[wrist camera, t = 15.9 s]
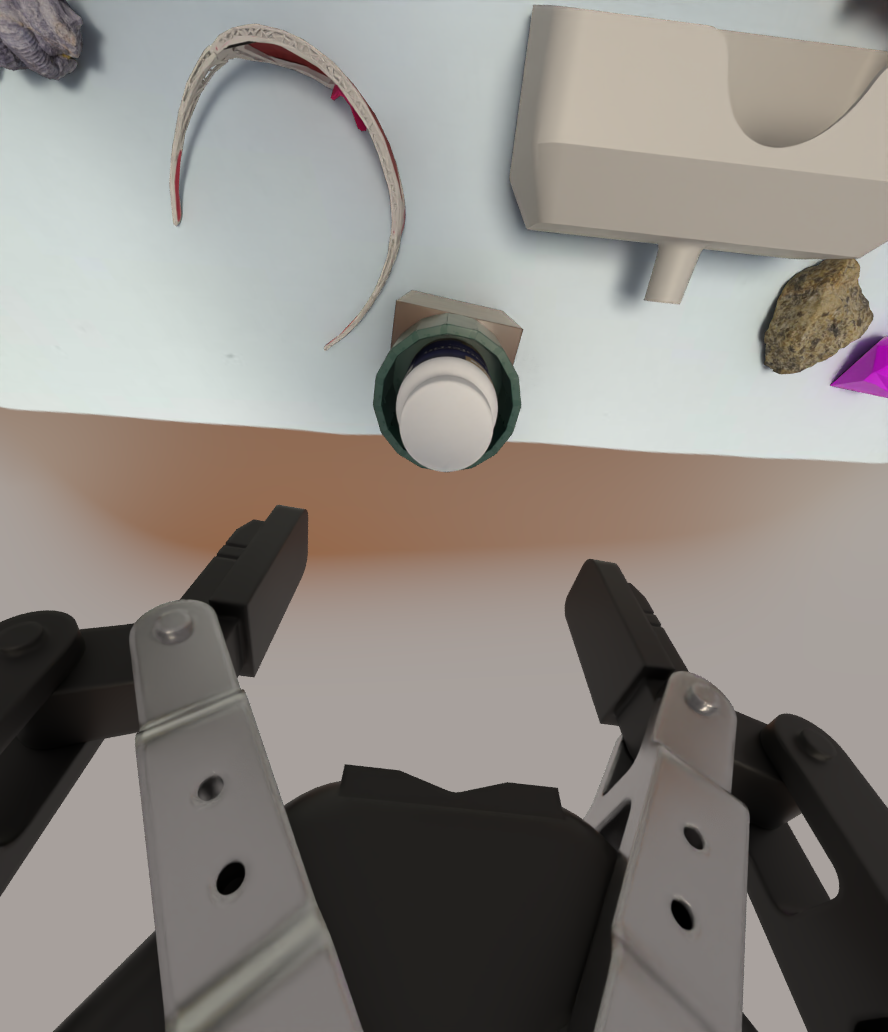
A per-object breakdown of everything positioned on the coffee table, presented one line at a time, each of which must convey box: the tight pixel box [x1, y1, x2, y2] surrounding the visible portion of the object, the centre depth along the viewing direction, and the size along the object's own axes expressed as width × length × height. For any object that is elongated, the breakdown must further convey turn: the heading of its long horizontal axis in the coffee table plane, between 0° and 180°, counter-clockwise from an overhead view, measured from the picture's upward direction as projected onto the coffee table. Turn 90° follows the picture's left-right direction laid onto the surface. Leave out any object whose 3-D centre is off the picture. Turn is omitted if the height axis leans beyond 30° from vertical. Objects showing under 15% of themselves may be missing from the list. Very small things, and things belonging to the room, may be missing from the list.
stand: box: [390, 290, 523, 365], centre depth 33 cm, size 9×9×12 cm
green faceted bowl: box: [373, 313, 521, 472], centre depth 26 cm, size 9×9×6 cm
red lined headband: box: [169, 24, 406, 351], centre depth 31 cm, size 17×17×5 cm
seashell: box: [0, 0, 83, 80], centre depth 25 cm, size 5×5×10 cm
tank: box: [509, 5, 888, 304], centre depth 26 cm, size 25×16×12 cm, turn 85°
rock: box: [764, 259, 873, 374], centre depth 34 cm, size 7×8×4 cm
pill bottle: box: [396, 338, 498, 472], centre depth 23 cm, size 6×6×10 cm
